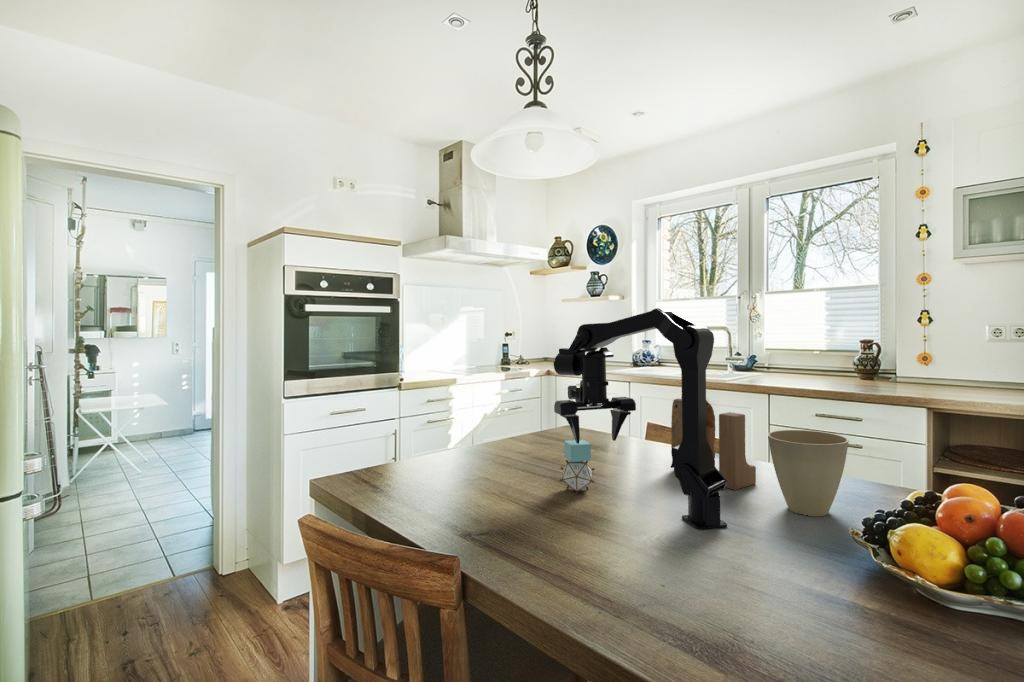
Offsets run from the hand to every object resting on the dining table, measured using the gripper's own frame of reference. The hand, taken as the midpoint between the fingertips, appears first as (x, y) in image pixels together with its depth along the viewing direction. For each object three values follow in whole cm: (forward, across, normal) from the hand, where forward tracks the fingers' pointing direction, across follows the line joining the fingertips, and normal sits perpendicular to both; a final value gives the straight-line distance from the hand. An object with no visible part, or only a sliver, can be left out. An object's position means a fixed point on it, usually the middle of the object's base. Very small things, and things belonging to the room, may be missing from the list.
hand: (595, 441), depth 122 cm
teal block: (+4, +4, -3) cm, 6 cm away
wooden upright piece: (+13, -32, -10) cm, 36 cm away
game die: (+12, +4, -3) cm, 13 cm away
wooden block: (+13, -36, +3) cm, 38 cm away
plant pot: (+14, -39, +22) cm, 47 cm away
